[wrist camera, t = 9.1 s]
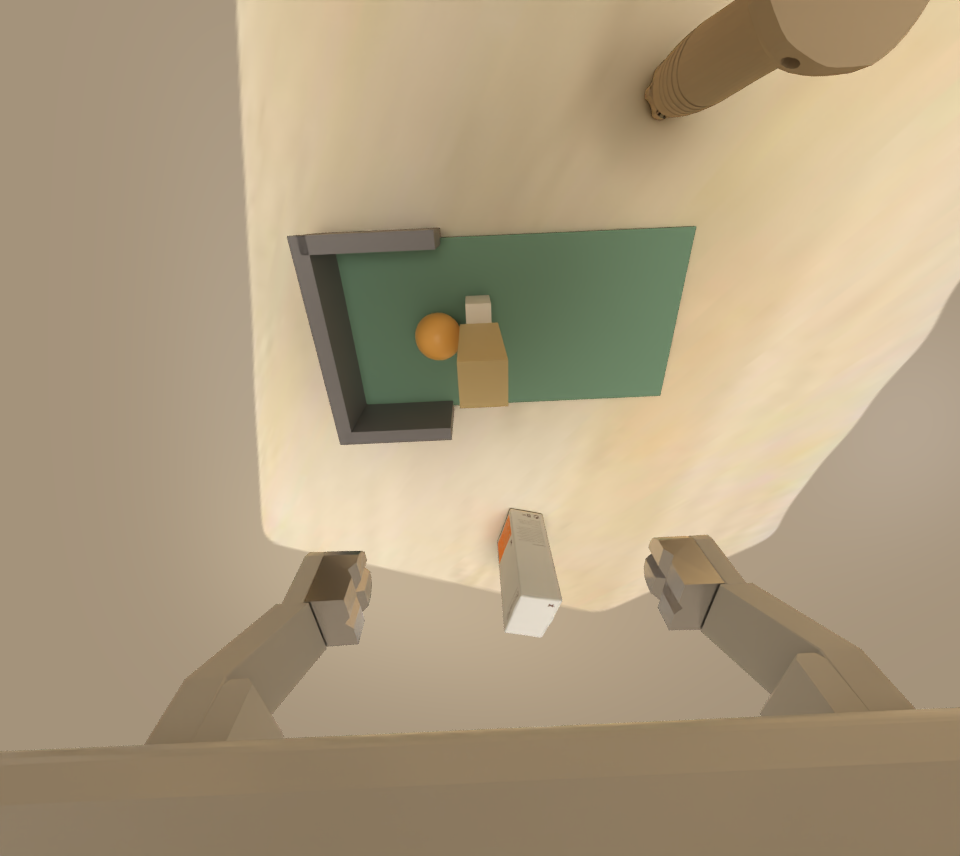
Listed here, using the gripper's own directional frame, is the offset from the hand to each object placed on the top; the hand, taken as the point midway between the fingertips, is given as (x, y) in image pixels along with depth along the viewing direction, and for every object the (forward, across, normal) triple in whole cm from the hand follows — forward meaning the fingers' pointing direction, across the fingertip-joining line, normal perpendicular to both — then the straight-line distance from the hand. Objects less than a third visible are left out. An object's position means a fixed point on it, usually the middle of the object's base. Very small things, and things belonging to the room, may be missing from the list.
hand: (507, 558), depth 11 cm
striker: (+27, 0, 0) cm, 27 cm away
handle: (+27, -14, -16) cm, 34 cm away
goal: (+27, +7, 0) cm, 28 cm away
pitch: (+27, -2, 0) cm, 27 cm away
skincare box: (+27, -4, +25) cm, 37 cm away
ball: (+24, +4, 0) cm, 25 cm away
